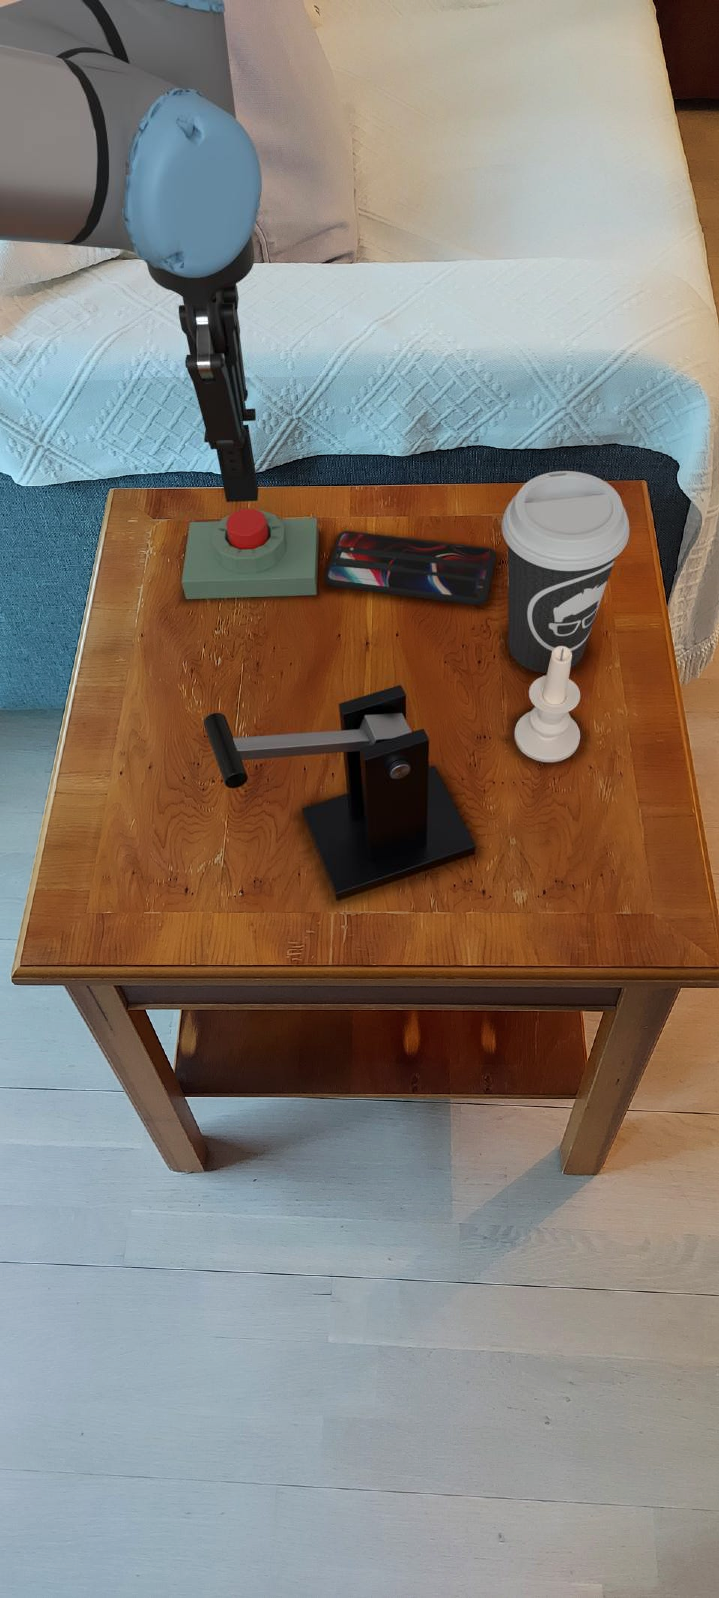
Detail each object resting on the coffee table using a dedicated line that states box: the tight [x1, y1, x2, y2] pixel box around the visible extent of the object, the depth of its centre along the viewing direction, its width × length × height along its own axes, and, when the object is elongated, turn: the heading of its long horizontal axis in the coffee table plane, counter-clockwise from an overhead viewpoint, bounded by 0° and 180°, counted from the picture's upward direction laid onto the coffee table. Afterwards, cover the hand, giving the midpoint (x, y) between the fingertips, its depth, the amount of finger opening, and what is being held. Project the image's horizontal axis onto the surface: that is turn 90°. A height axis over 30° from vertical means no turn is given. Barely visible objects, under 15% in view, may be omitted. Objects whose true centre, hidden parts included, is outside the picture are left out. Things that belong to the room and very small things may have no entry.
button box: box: [181, 509, 320, 600], centre depth 92 cm, size 12×8×4 cm, turn 90°
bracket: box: [301, 684, 477, 902], centre depth 70 cm, size 11×8×14 cm
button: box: [226, 508, 268, 550], centre depth 90 cm, size 4×4×2 cm
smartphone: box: [324, 530, 497, 606], centre depth 92 cm, size 7×1×15 cm
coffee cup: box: [500, 470, 631, 674], centre depth 80 cm, size 10×10×15 cm
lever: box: [203, 712, 412, 789], centre depth 64 cm, size 13×5×2 cm, turn 110°
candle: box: [513, 646, 581, 763], centre depth 76 cm, size 5×5×10 cm
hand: (242, 495), depth 87 cm, fingers closed
